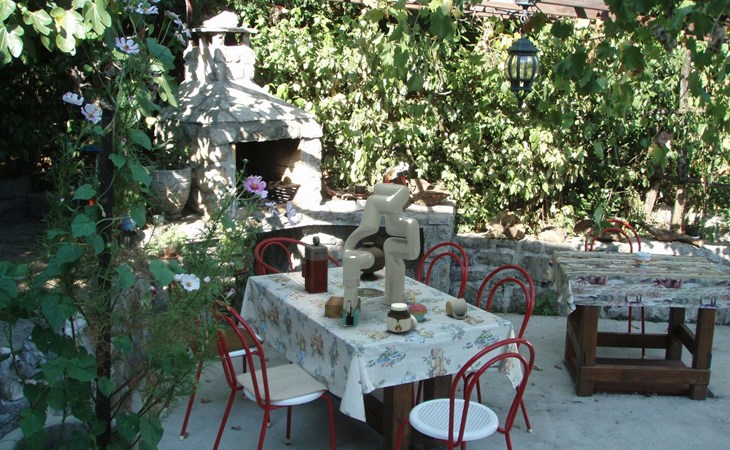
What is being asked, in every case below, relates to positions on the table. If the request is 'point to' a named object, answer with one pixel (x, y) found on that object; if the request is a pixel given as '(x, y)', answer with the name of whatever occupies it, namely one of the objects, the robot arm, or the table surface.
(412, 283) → the table surface
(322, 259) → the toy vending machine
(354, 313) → the teal block
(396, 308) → the spread jar
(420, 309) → the cupcake
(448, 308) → the ceramic mug
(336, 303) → the walnut base
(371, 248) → the pot
